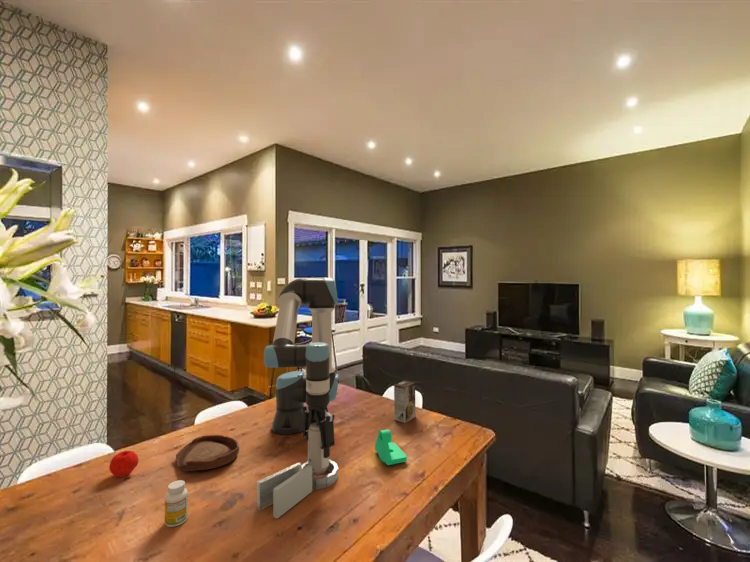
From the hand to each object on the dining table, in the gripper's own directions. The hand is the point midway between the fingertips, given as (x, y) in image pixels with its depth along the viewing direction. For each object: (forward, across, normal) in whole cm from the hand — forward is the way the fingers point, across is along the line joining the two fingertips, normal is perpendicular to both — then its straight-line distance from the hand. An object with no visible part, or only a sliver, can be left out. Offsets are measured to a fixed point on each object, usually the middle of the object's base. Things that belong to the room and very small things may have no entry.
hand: (318, 462), depth 113 cm
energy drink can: (+3, 0, 0) cm, 3 cm away
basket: (+5, -39, -19) cm, 44 cm away
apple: (+5, -49, -42) cm, 65 cm away
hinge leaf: (+4, +6, -13) cm, 15 cm away
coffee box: (+5, -9, +57) cm, 58 cm away
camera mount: (+5, +9, +26) cm, 28 cm away
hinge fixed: (+5, 0, -7) cm, 9 cm away
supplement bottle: (+5, -12, -38) cm, 40 cm away
